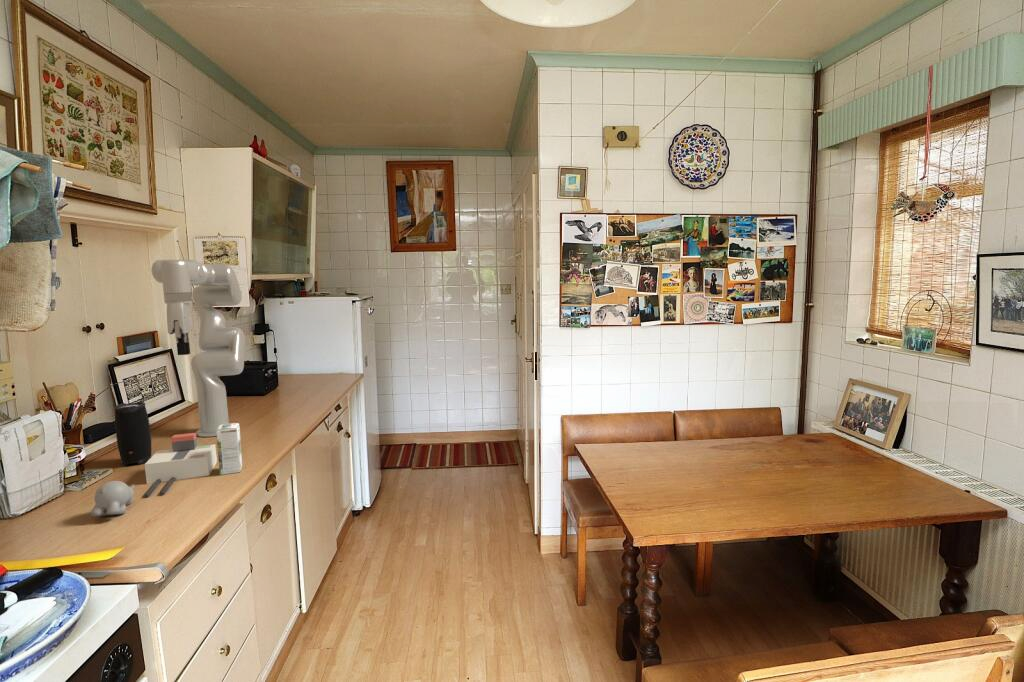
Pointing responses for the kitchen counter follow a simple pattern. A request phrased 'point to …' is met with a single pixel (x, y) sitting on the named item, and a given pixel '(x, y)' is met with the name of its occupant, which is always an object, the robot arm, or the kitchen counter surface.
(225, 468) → the syrup box
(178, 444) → the handle
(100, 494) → the toy rhinoceros
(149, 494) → the dressed cords
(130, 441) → the portable speaker
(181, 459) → the block
